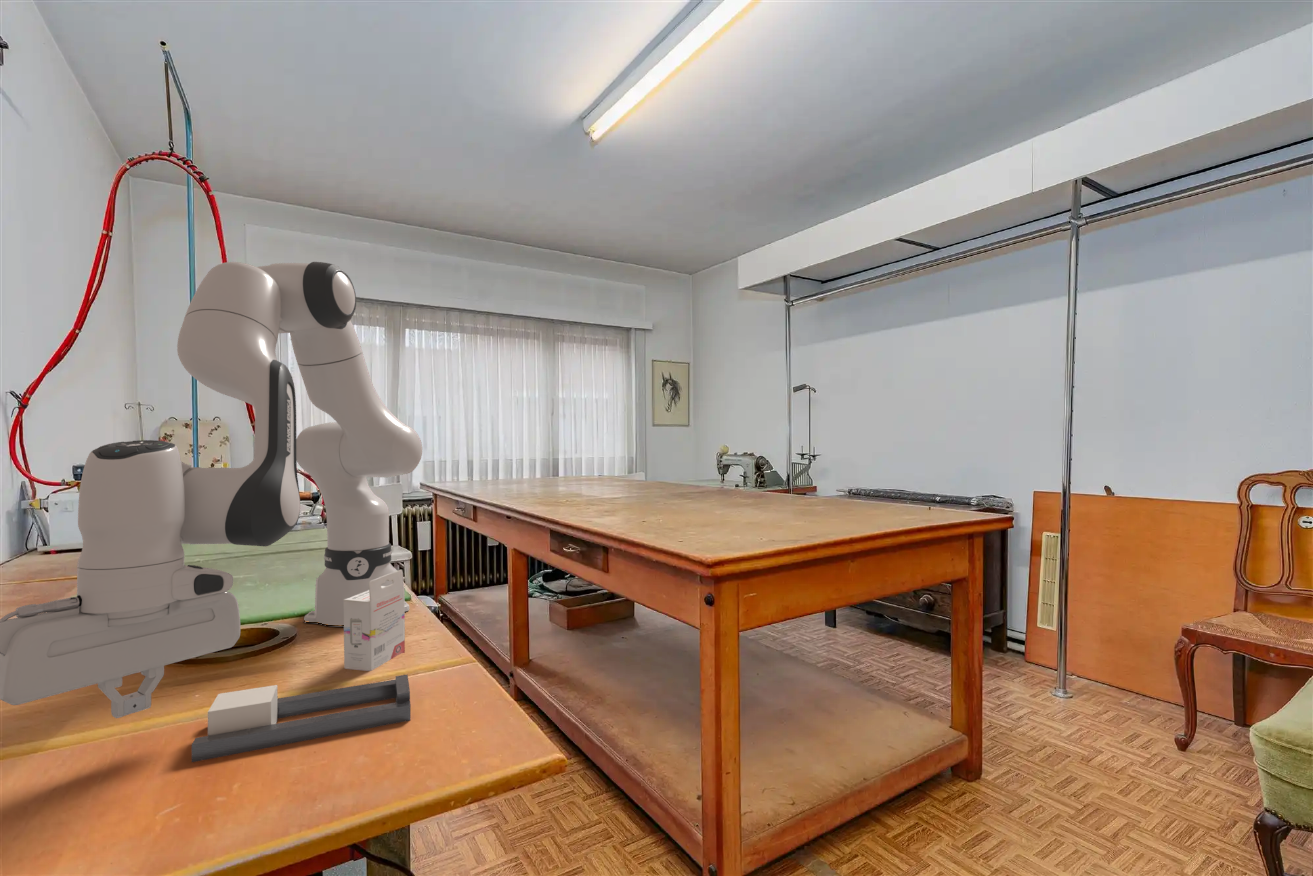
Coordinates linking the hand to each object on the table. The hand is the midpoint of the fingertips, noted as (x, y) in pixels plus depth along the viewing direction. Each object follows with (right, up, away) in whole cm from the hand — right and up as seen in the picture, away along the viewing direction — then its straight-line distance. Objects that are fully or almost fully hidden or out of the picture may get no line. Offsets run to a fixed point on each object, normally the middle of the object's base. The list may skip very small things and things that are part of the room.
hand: (131, 712), depth 64 cm
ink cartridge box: (+14, -6, +28) cm, 32 cm away
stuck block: (+9, -5, +5) cm, 11 cm away
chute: (+15, -6, +8) cm, 18 cm away
